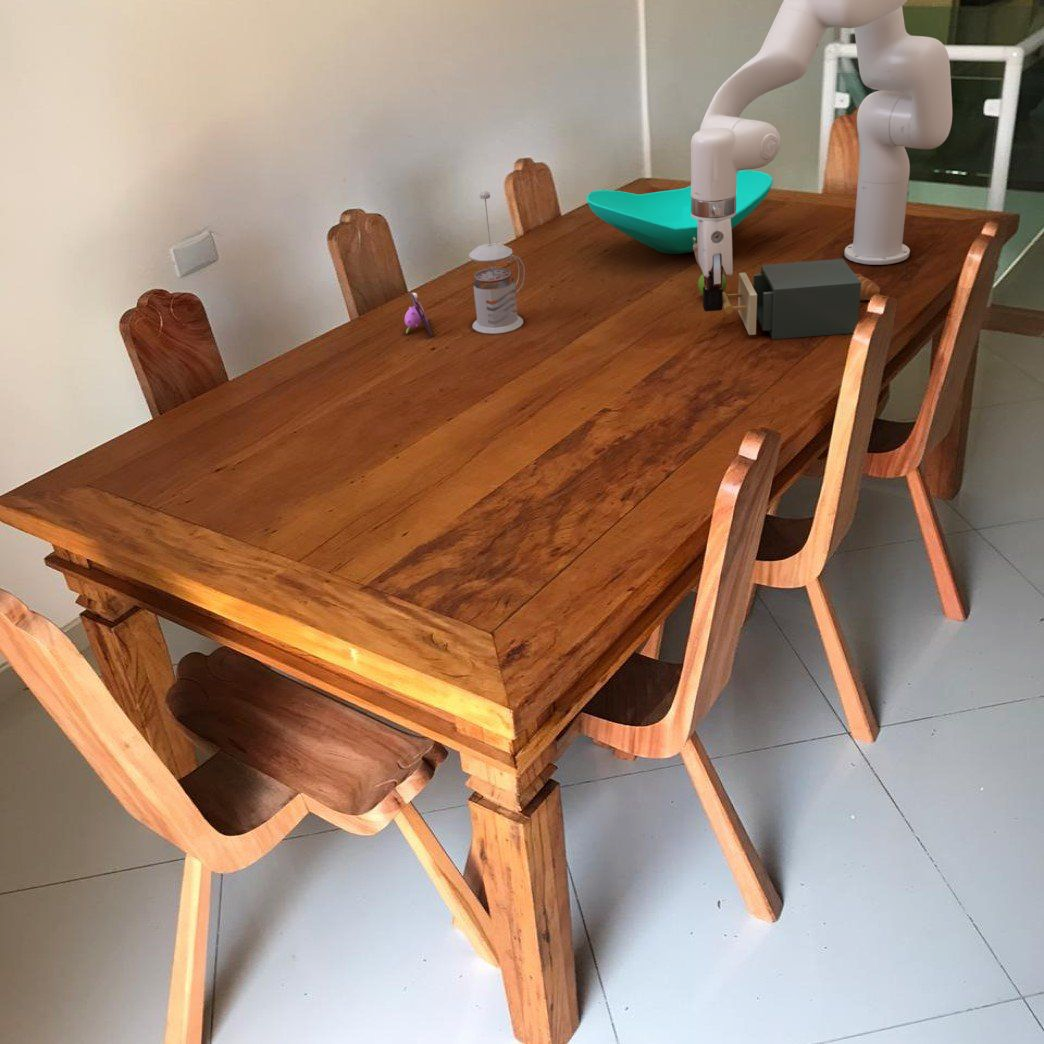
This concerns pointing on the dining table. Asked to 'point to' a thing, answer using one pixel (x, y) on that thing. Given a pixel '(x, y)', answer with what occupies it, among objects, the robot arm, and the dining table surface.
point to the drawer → (752, 302)
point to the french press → (498, 314)
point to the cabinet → (813, 298)
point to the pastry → (867, 288)
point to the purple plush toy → (415, 315)
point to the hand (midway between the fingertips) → (712, 308)
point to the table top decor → (671, 212)
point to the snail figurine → (701, 279)
